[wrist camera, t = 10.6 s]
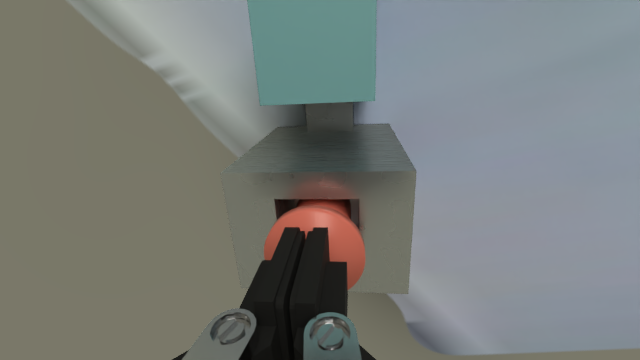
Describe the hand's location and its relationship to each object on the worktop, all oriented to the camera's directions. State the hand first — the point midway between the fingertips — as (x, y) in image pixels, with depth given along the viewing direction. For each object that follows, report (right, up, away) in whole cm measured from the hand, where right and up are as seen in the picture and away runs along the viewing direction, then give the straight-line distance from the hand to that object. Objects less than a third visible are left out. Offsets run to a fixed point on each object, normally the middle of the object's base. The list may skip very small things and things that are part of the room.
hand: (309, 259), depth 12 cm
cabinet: (+1, +4, +11) cm, 12 cm away
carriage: (+1, +12, +8) cm, 14 cm away
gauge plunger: (+1, +2, +4) cm, 5 cm away
